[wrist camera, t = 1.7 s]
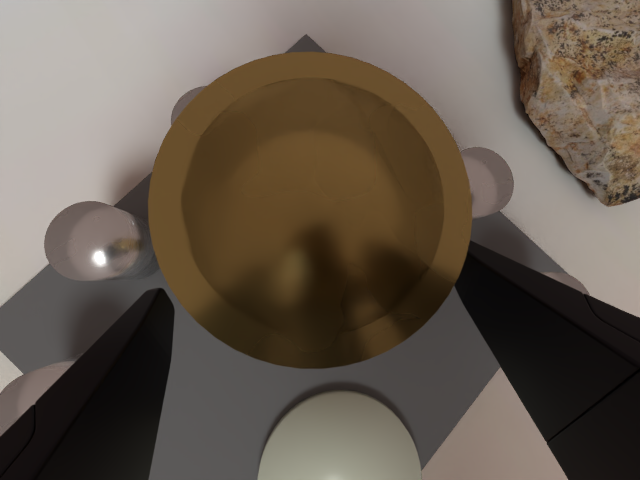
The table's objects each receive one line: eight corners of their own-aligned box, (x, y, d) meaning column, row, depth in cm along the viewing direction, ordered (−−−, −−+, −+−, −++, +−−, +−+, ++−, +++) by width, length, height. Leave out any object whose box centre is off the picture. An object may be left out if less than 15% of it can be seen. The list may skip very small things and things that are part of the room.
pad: (448, 464, 17) (453, 471, 16) (344, 603, 16) (346, 616, 15) (335, 356, 17) (336, 359, 17) (223, 484, 16) (221, 492, 15)
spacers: (536, 325, 18) (602, 338, 14) (69, 422, 16) (-9, 472, 12) (478, 96, 20) (523, 52, 16) (49, 148, 17) (-24, 110, 13)
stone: (756, 185, 16) (685, 150, 12) (606, 219, 22) (523, 203, 18) (645, -83, 21) (568, -172, 17) (546, 2, 27) (470, -49, 23)
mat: (563, 275, 19) (569, 275, 19) (292, 632, 16) (292, 641, 15) (305, 39, 20) (306, 34, 20) (-15, 326, 16) (-23, 327, 16)
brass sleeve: (364, 253, 18) (531, 196, 5) (304, 319, 17) (325, 446, 4) (300, 194, 18) (310, -5, 5) (238, 257, 17) (73, 202, 5)
